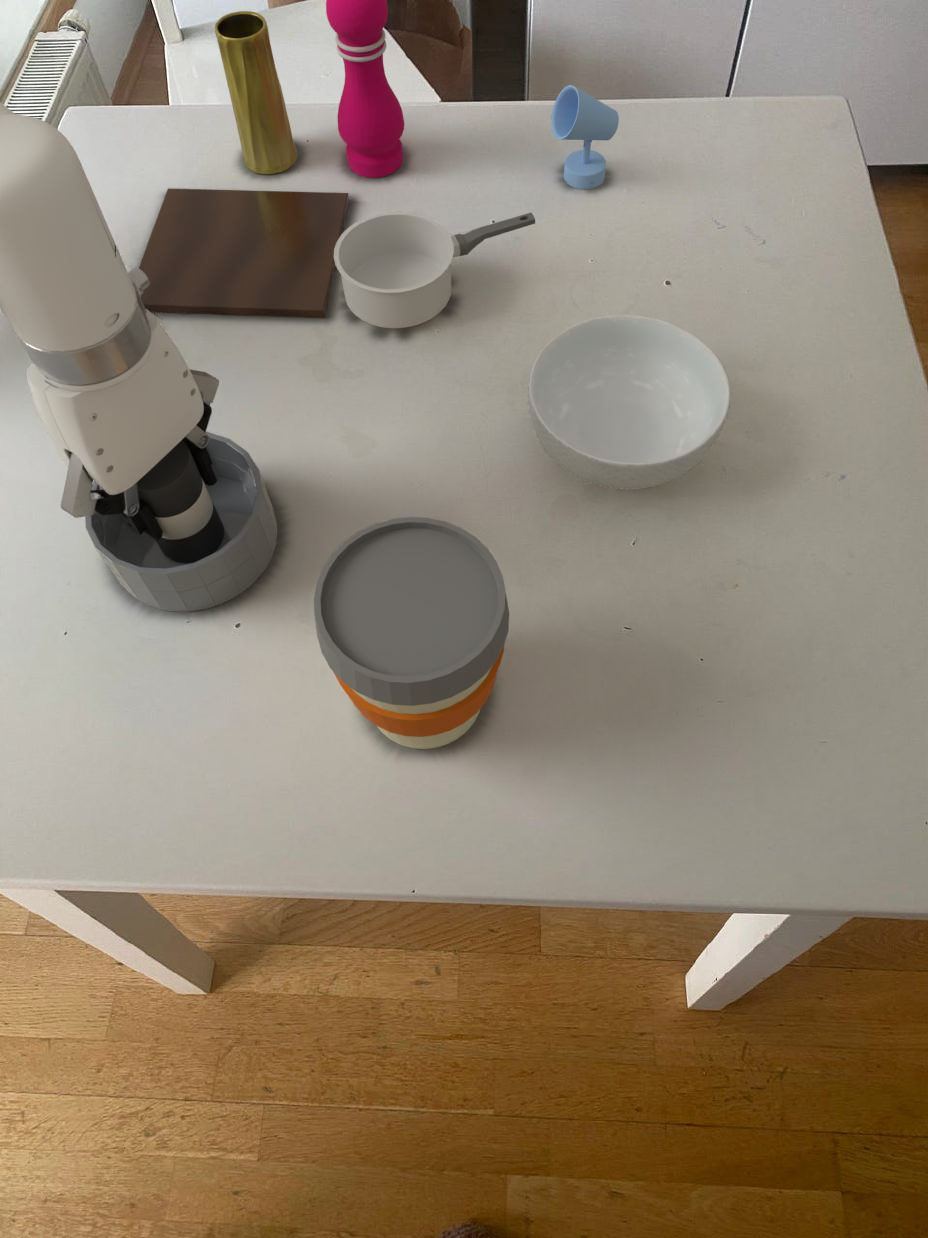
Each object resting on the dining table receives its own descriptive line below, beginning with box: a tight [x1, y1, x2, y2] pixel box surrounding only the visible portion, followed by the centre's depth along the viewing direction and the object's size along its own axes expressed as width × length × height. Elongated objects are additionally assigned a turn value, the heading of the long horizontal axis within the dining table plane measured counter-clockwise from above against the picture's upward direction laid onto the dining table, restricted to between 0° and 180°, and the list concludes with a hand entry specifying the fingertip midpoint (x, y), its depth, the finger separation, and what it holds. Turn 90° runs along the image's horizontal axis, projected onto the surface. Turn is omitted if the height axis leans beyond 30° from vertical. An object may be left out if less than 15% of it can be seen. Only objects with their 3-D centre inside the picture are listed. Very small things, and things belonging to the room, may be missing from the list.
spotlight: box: [550, 84, 620, 190], centre depth 94 cm, size 5×10×7 cm
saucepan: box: [334, 211, 536, 329], centre depth 88 cm, size 12×20×6 cm, turn 109°
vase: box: [214, 10, 298, 175], centre depth 95 cm, size 6×6×14 cm
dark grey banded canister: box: [137, 440, 224, 563], centre depth 72 cm, size 6×6×10 cm
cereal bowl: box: [527, 314, 731, 490], centre depth 77 cm, size 17×17×7 cm
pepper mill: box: [325, 0, 405, 179], centre depth 92 cm, size 7×7×20 cm
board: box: [138, 187, 350, 319], centre depth 93 cm, size 20×18×1 cm
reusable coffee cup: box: [313, 516, 510, 750], centre depth 62 cm, size 13×13×15 cm
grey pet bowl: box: [84, 431, 278, 613], centre depth 74 cm, size 14×14×6 cm
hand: (174, 501), depth 72 cm, fingers closed on dark grey banded canister, 5 cm apart
